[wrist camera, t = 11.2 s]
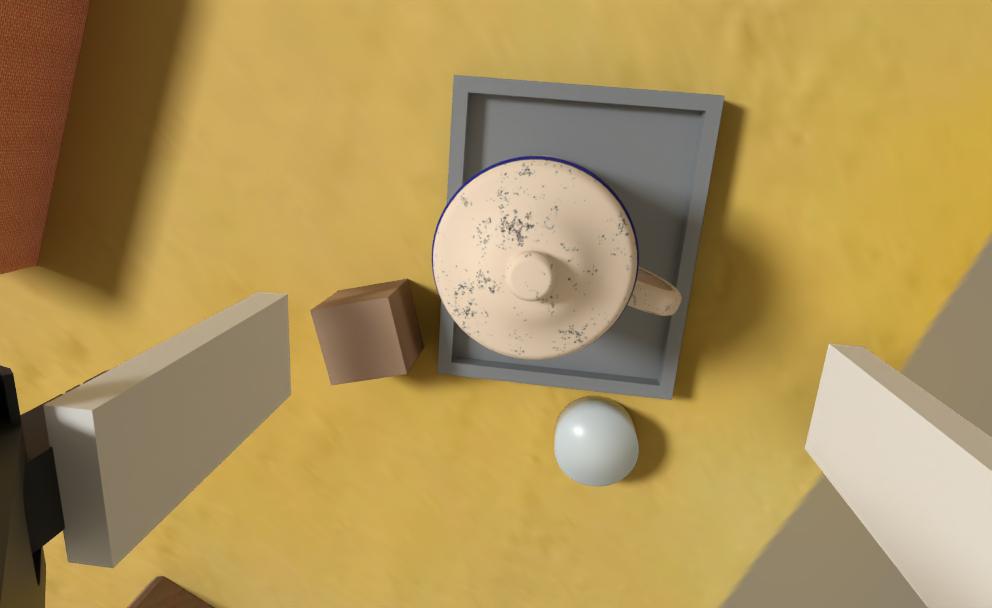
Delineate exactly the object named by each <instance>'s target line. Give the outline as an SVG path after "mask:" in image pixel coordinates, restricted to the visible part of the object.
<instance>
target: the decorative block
mask: <svg viewBox="0 0 992 608" xmlns="http://www.w3.org/2000/svg"><path fill="white" fill-rule="evenodd" d="M127 608H213V607H211V606H210V605H208V604H207V603H205V602H203V601H202V600H200V599H199V598H197V597H195V596H194V595H192V594H191V593H189V592H187V591H186V590H184V589H183V588H181V587H179V586H178V585H176V584H175V583H173V582H172V581H170V580H168V579H167V578H165V577H156V578H155V579H154V580H152V581H151V582H150V583H149V584H148V585H147V586H146V587H145V589H144V590H143V591H142V592H141V593H140V594H139V595H138V596H137V597H136V598H135V600H134V601H133V602H132V603H131V604H130V605H129V606H128V607H127Z"/></svg>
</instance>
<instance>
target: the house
mask: <svg viewBox="0 0 992 608" xmlns="http://www.w3.org/2000/svg"><path fill="white" fill-rule="evenodd" d="M89 4H90V0H0V274H4V273H8V272H12V271H16V270H20V269H24V268H28V267H32V266H36V265H37V263H38V258H39V253H40V248H41V243H42V238H43V233H44V228H45V223H46V218H47V213H48V208H49V203H50V198H51V193H52V188H53V183H54V178H55V173H56V168H57V163H58V158H59V153H60V148H61V143H62V138H63V133H64V128H65V123H66V118H67V113H68V108H69V103H70V98H71V93H72V88H73V83H74V78H75V73H76V69H77V64H78V59H79V54H80V49H81V44H82V39H83V34H84V29H85V24H86V19H87V14H88V9H89Z"/></svg>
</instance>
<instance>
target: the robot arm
mask: <svg viewBox="0 0 992 608" xmlns="http://www.w3.org/2000/svg"><path fill="white" fill-rule="evenodd" d="M290 395H291V380H290V350H289V321H288V294H278V293H267V292H257V293H255V294H253V295H251V296H249V297H247V298H245V299H244V300H242V301H240V302H238V303H236V304H234V305H232V306H230V307H228V308H226V309H225V310H223V311H221V312H219V313H217V314H215V315H213V316H211V317H209V318H208V319H206V320H204V321H202V322H200V323H198V324H196V325H194V326H192V327H190V328H189V329H187V330H185V331H183V332H181V333H179V334H177V335H175V336H173V337H171V338H170V339H168V340H166V341H164V342H162V343H160V344H158V345H156V346H154V347H152V348H151V349H149V350H147V351H145V352H143V353H141V354H139V355H137V356H135V357H133V358H132V359H130V360H128V361H126V362H124V363H122V364H120V365H118V366H116V367H114V368H113V369H111V370H108V371H104V372H103V373H101V374H99V375H97V376H95V377H93V378H91V379H89V380H87V381H85V382H83V384H82V385H78V386H76V387H74V388H72V389H70V390H68V391H66V393H65V394H61V395H59V396H57V397H55V398H53V399H51V400H49V401H47V402H45V403H43V404H41V405H40V406H38V407H36V408H34V409H32V410H30V411H28V412H26V413H24V414H22V415H20V411H19V405H18V399H17V394H16V388H15V382H14V376H13V373H12V371H11V369H10V368H7V367H3V366H0V608H45V584H46V563H45V557H44V551H43V546H44V545H45V544H46V543H47V542H49V541H50V540H51V539H52V538H54V537H55V536H56V535H57V534H59V533H60V532H61V531H62V530H63V533H64V539H65V546H66V552H67V558H68V562H71V563H78V564H86V565H93V566H101V567H109V568H114V567H115V566H116V565H117V564H118V563H119V562H120V561H121V560H122V559H123V558H124V557H125V556H126V555H127V554H128V553H129V552H130V551H131V550H132V549H133V548H134V547H135V546H136V545H137V544H138V543H140V542H141V541H142V540H143V539H144V538H145V537H146V536H147V535H148V534H149V533H150V532H151V531H152V530H153V529H154V528H155V527H156V526H157V525H158V524H159V523H160V522H161V521H162V520H163V519H164V518H165V517H166V516H167V515H168V514H169V513H170V512H171V511H172V510H173V509H174V508H175V507H176V506H177V505H179V504H180V503H181V502H182V501H183V500H184V499H185V498H186V497H187V496H188V495H189V494H190V493H191V492H192V491H193V490H194V489H195V488H196V487H197V486H198V485H199V484H200V483H201V482H202V481H203V480H204V479H205V478H206V477H207V476H208V475H209V474H210V473H211V472H212V471H213V470H214V469H215V468H216V467H218V466H219V465H220V464H221V463H222V462H223V461H224V460H225V459H226V458H227V457H228V456H229V455H230V454H231V453H232V452H233V451H234V450H235V449H236V448H237V447H238V446H239V445H240V444H241V443H242V442H243V441H244V440H245V439H246V438H247V437H248V436H249V435H250V434H251V433H252V432H253V431H254V430H256V429H257V428H258V427H259V426H260V425H261V424H262V423H263V422H264V421H265V420H266V419H267V418H268V417H269V416H270V415H271V414H272V413H273V412H274V411H275V410H276V409H277V408H278V407H279V406H280V405H281V404H282V403H283V402H284V401H285V400H286V399H287V398H288V397H289V396H290ZM805 450H806V451H807V452H808V453H809V455H810V456H811V457H812V459H813V460H814V461H815V463H816V464H817V465H818V466H819V468H820V469H821V470H822V472H823V473H824V474H825V475H826V477H827V478H828V479H829V481H830V482H831V483H832V484H833V486H834V487H835V488H836V490H837V491H838V492H839V494H840V495H841V496H842V497H843V498H844V500H845V501H846V502H847V504H848V505H849V506H850V507H851V509H852V510H853V512H854V513H855V514H856V515H857V517H858V518H859V519H860V521H861V522H862V523H863V524H864V526H865V527H866V528H867V530H868V531H869V532H870V534H871V535H872V536H873V537H874V538H875V540H876V541H877V543H878V544H879V545H880V546H881V548H882V549H883V550H884V551H885V553H886V554H887V555H888V557H889V558H890V559H891V561H892V562H893V563H894V565H895V566H896V567H897V568H898V569H899V571H900V572H901V573H902V575H903V576H904V577H905V579H906V580H907V581H908V583H909V584H910V585H911V586H912V588H913V589H914V590H915V591H916V593H917V594H918V596H919V597H920V598H921V599H922V601H923V602H924V603H925V604H926V606H927V607H928V608H992V437H990V436H989V435H987V434H986V433H984V432H983V431H982V430H980V429H979V428H977V427H976V426H975V425H973V424H972V423H970V422H969V421H968V420H966V419H965V418H963V417H962V416H961V415H959V414H958V413H956V412H955V411H953V410H952V409H951V408H949V407H948V406H946V405H945V404H944V403H942V402H941V401H939V400H938V399H936V398H935V397H934V396H932V395H931V394H929V393H928V392H927V391H925V390H924V389H922V388H921V387H919V386H918V385H917V384H915V383H914V382H912V381H911V380H910V379H908V378H907V377H905V376H904V375H902V374H901V373H900V372H898V371H897V370H895V369H894V368H893V367H891V366H890V365H888V364H887V363H885V362H884V361H883V360H881V359H880V358H878V357H877V356H876V355H874V354H873V353H871V352H870V351H868V350H867V349H866V348H864V347H861V346H850V345H839V344H829V346H828V350H827V355H826V359H825V363H824V368H823V372H822V376H821V381H820V385H819V389H818V394H817V398H816V402H815V407H814V411H813V415H812V420H811V424H810V428H809V433H808V437H807V441H806V446H805Z"/></svg>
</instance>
